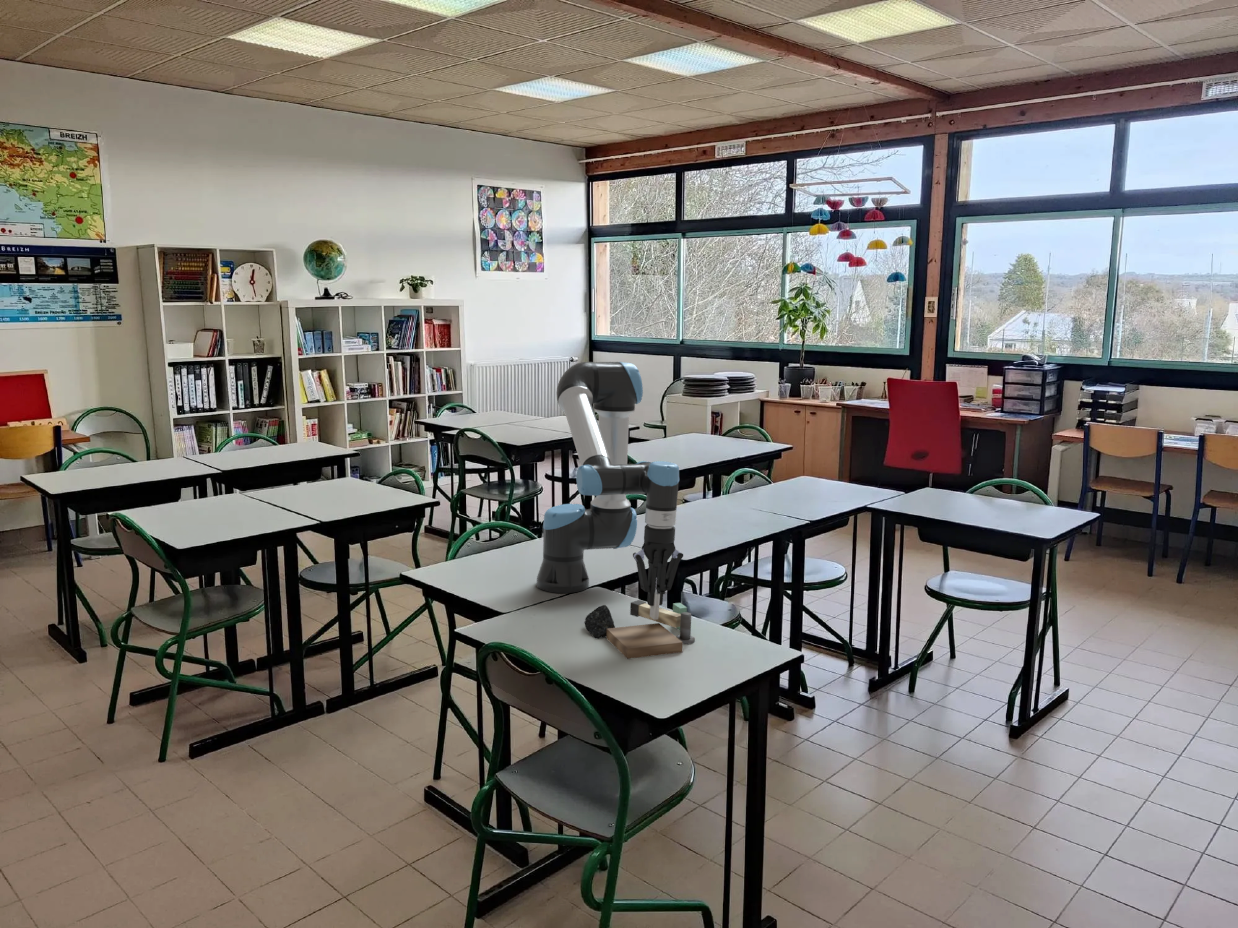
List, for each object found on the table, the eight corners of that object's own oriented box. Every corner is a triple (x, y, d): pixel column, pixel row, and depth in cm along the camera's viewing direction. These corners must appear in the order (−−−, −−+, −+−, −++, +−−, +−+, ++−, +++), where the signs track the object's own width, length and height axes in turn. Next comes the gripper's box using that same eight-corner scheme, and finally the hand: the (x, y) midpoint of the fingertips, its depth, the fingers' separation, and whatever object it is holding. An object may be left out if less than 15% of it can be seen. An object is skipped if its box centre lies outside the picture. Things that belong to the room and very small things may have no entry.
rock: (593, 640, 228) (593, 617, 227) (580, 626, 238) (580, 604, 237) (620, 637, 231) (621, 615, 230) (606, 624, 240) (606, 602, 239)
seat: (606, 638, 229) (607, 611, 228) (681, 629, 237) (682, 604, 236) (627, 658, 217) (628, 630, 215) (706, 649, 224) (707, 622, 223)
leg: (683, 625, 232) (683, 613, 231) (675, 628, 229) (675, 616, 229) (638, 611, 241) (638, 599, 241) (630, 614, 239) (630, 602, 238)
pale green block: (672, 625, 240) (673, 603, 239) (679, 624, 241) (680, 602, 240) (678, 630, 236) (679, 608, 235) (686, 629, 237) (686, 607, 236)
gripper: (641, 529, 223) (635, 624, 227) (690, 528, 227) (683, 620, 231) (630, 522, 230) (624, 614, 234) (677, 520, 234) (671, 611, 238)
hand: (654, 617), depth 232 cm, fingers closed
